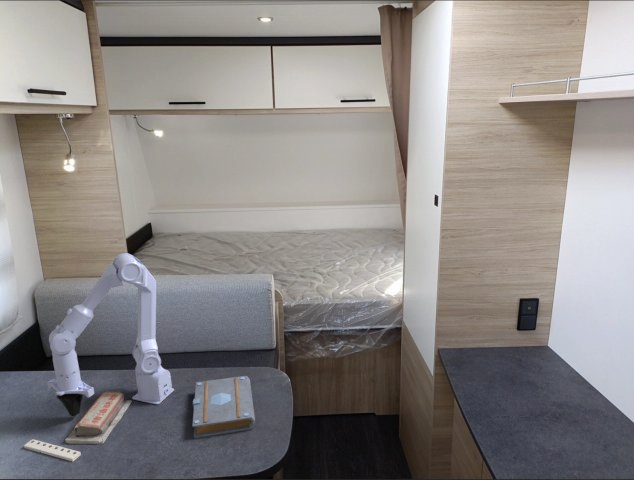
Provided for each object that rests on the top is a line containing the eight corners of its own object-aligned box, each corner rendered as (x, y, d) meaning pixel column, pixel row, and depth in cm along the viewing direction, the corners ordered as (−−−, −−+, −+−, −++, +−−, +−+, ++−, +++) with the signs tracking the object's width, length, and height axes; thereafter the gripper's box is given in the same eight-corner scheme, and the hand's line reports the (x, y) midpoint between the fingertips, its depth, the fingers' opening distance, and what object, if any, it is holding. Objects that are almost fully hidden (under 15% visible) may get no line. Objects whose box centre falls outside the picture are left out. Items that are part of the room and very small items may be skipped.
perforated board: (81, 454, 115) (80, 451, 114) (72, 461, 112) (72, 458, 112) (33, 441, 120) (32, 438, 119) (24, 448, 117) (23, 445, 117)
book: (255, 430, 123) (254, 414, 122) (192, 439, 120) (190, 423, 118) (250, 387, 143) (249, 372, 142) (195, 394, 140) (194, 379, 138)
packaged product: (97, 389, 135) (130, 389, 135) (99, 403, 136) (132, 403, 136) (62, 429, 117) (100, 429, 117) (65, 445, 119) (103, 445, 118)
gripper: (34, 374, 124) (43, 417, 127) (76, 382, 119) (84, 427, 122) (56, 361, 130) (64, 403, 133) (96, 369, 125) (103, 412, 129)
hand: (75, 414), depth 128 cm, fingers closed
